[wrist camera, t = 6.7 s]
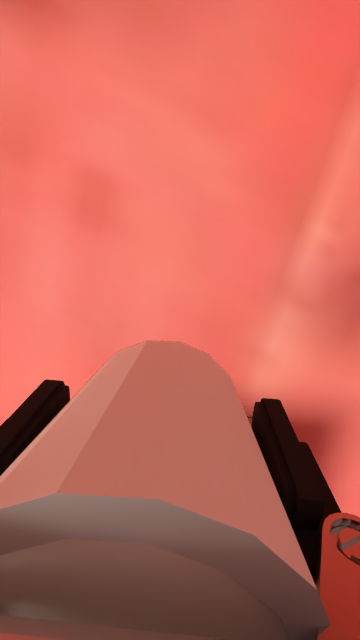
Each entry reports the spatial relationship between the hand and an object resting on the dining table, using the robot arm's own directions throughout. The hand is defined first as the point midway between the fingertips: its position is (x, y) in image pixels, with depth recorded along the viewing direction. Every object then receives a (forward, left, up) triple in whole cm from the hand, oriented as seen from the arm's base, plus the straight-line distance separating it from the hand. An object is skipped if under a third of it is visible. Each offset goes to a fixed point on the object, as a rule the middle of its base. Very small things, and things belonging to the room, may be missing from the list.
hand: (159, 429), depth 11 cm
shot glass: (0, 0, -1) cm, 1 cm away
